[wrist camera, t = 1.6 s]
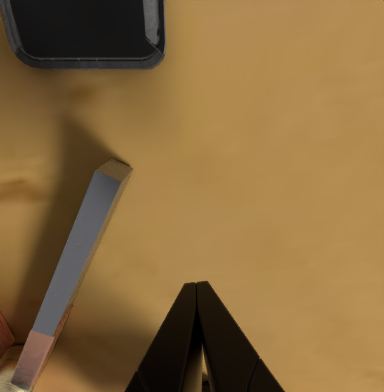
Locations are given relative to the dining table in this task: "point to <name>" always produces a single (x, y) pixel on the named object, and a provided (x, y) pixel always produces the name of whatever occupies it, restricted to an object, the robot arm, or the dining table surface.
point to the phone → (86, 33)
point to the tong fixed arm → (5, 336)
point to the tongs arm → (65, 279)
